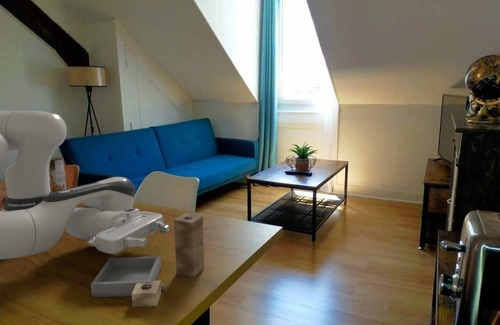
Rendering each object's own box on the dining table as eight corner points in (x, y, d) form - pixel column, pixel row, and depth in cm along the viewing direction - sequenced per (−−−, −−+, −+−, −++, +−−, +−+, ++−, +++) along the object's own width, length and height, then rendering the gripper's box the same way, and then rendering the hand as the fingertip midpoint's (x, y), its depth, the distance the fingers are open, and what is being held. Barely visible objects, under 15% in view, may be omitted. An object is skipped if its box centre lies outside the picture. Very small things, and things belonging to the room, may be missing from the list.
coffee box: (39, 194, 156) (34, 159, 153) (49, 190, 163) (45, 156, 159) (57, 195, 155) (53, 159, 152) (67, 191, 161) (63, 157, 158)
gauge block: (130, 306, 73) (129, 293, 73) (138, 289, 80) (137, 276, 80) (159, 305, 74) (158, 292, 73) (165, 288, 81) (164, 275, 80)
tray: (92, 297, 77) (90, 284, 76) (110, 269, 89) (109, 257, 89) (150, 295, 78) (149, 282, 77) (161, 267, 90) (160, 256, 90)
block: (176, 273, 87) (173, 219, 84) (187, 264, 92) (185, 213, 89) (194, 277, 85) (191, 222, 82) (204, 268, 90) (202, 215, 87)
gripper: (82, 230, 85) (127, 239, 80) (138, 206, 104) (178, 212, 99) (84, 255, 86) (129, 265, 81) (140, 226, 105) (179, 233, 100)
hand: (156, 235), depth 90 cm, fingers open, 8 cm apart
